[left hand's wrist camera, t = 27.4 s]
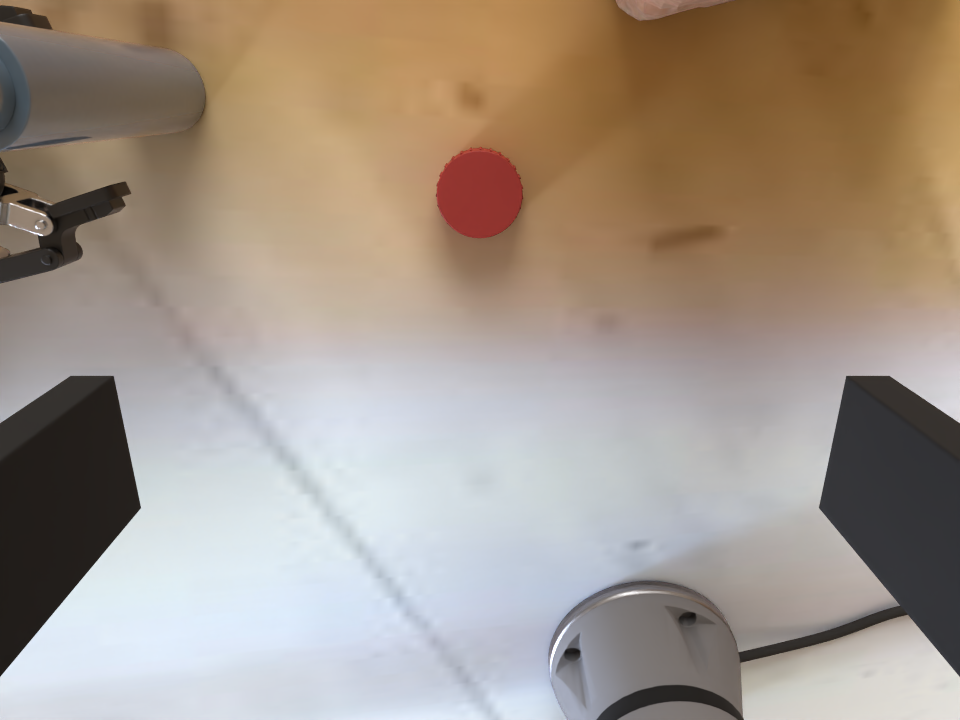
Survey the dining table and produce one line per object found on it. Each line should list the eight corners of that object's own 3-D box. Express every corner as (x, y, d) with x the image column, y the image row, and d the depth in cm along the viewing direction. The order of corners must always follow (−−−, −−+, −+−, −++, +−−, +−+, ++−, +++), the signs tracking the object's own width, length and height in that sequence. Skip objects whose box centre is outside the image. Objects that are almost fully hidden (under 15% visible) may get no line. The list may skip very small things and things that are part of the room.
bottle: (154, 28, 40) (-116, -30, 22) (221, 90, 41) (17, 82, 23) (109, 92, 41) (-183, 87, 23) (175, 149, 42) (-52, 187, 24)
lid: (450, 241, 44) (449, 249, 42) (427, 159, 42) (424, 163, 40) (529, 220, 44) (532, 226, 42) (509, 136, 42) (511, 138, 40)
